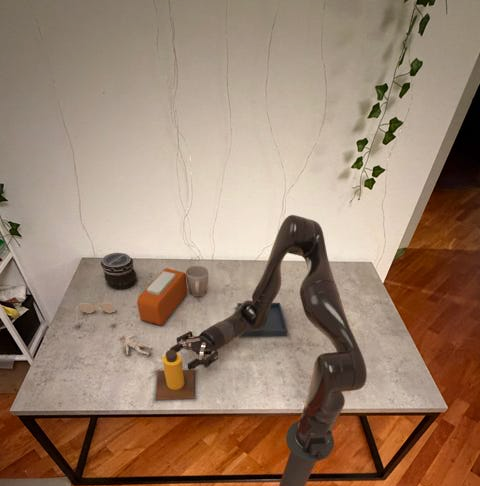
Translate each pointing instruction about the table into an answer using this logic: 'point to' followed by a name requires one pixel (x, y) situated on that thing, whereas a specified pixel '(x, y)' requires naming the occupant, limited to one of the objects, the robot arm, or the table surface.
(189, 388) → the board
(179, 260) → the table surface
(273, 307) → the tray
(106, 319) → the table surface
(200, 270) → the mug
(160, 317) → the orange box
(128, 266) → the container
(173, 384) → the yellow bottle
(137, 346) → the soldier figure
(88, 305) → the sunglasses
